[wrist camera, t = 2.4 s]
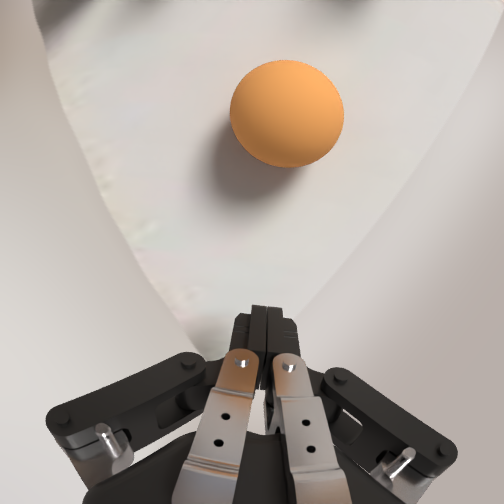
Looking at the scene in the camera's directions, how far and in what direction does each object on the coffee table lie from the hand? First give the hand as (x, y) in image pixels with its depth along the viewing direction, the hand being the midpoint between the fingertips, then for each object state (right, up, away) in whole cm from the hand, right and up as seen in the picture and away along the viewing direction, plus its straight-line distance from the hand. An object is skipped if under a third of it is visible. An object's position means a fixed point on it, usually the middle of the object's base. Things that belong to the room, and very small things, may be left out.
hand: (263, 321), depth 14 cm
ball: (+1, +11, 0) cm, 11 cm away
